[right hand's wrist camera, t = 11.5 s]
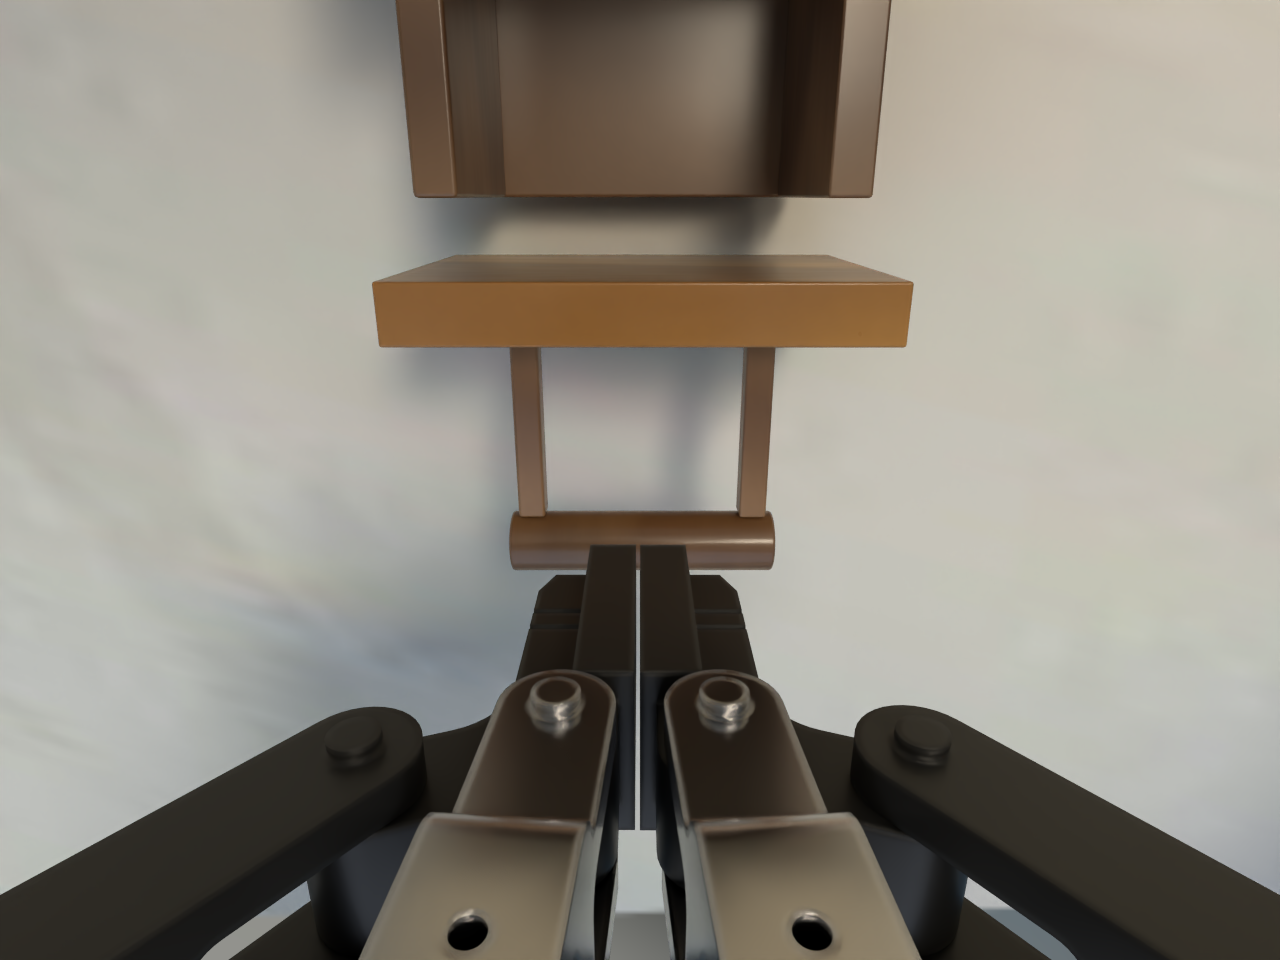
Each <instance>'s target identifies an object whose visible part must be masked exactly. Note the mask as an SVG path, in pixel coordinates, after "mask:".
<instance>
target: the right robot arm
mask: <svg viewBox="0 0 1280 960" xmlns="http://www.w3.org/2000/svg"><path fill="white" fill-rule="evenodd" d="M635 748H636V544H591V545H590V550H589V557H588V564H587V571H586V575H556V576H555V577H554V578H552V579H551V580H550V581H549V582H548V583H547V584H546V585H545V586H544V587H543V588H542V589H540V590H539V592H538V596H537V600H536V604H535V608H534V613H533V616H532V620H531V624H530V629H529V631H528V635H527V639H526V643H525V647H524V651H523V655H522V659H521V663H520V666H519V670H518V674H517V678H516V682H514V683H512V684H511V685H510V686H509V687H507V688H506V689H505V690H504V691H503V693H502V694H501V695H500V697H499V699H498V701H497V703H496V705H495V708H494V710H493V713H492V715H490V716H488V717H487V718H485V719H483V720H481V721H479V722H477V723H474V724H472V725H469V726H466V727H463V728H459V729H456V730H452V731H447V732H442V733H438V734H433V735H429V736H424V737H423V735H422V730H421V727H420V725H419V723H418V722H417V721H416V719H414V718H413V717H412V716H411V715H409V714H407V713H405V712H403V711H400V710H397V709H393V708H387V707H364V708H358V709H352V710H348V711H345V712H341V713H338V714H336V715H333V716H330V717H328V718H326V719H324V720H322V721H320V722H318V723H316V724H314V725H312V726H311V727H309V728H307V729H305V730H303V731H301V732H299V733H298V734H296V735H294V736H292V737H290V738H288V739H287V740H285V741H283V742H281V743H279V744H277V745H276V746H274V747H272V748H270V749H268V750H266V751H265V752H263V753H261V754H259V755H257V756H255V757H253V758H252V759H250V760H248V761H246V762H244V763H242V764H241V765H239V766H237V767H235V768H233V769H231V770H230V771H228V772H226V773H224V774H222V775H220V776H218V777H217V778H215V779H213V780H211V781H209V782H207V783H206V784H204V785H202V786H200V787H198V788H196V789H195V790H193V791H191V792H189V793H187V794H185V795H184V796H182V797H180V798H178V799H176V800H174V801H172V802H171V803H169V804H167V805H165V806H163V807H161V808H160V809H158V810H156V811H154V812H152V813H150V814H149V815H147V816H145V817H143V818H141V819H139V820H137V821H136V822H134V823H132V824H130V825H128V826H126V827H125V828H123V829H121V830H119V831H117V832H115V833H114V834H112V835H110V836H108V837H106V838H104V839H103V840H101V841H99V842H97V843H95V844H93V845H91V846H90V847H88V848H86V849H84V850H82V851H80V852H79V853H77V854H75V855H73V856H71V857H69V858H68V859H66V860H64V861H62V862H60V863H58V864H56V865H55V866H53V867H51V868H49V869H47V870H45V871H44V872H42V873H40V874H38V875H36V876H34V877H33V878H31V879H29V880H27V881H25V882H23V883H22V884H20V885H18V886H16V887H14V888H12V889H10V890H9V891H7V892H5V893H3V894H1V895H0V960H201V959H202V957H203V956H204V955H205V954H206V953H207V952H208V951H209V950H210V949H211V948H212V947H213V946H214V945H216V944H217V943H218V942H220V941H221V940H222V939H224V938H225V937H226V936H228V935H229V934H231V933H232V932H234V931H235V930H237V929H238V928H239V927H241V926H242V925H244V924H245V923H247V922H248V921H249V920H251V919H252V918H254V917H255V916H257V915H258V914H259V913H261V912H262V911H264V910H265V909H267V908H268V907H269V906H271V905H272V904H274V903H275V902H277V901H278V900H280V899H281V898H282V897H284V896H285V895H287V894H288V893H290V892H291V891H292V890H294V889H295V888H297V887H298V886H300V885H301V884H302V883H304V882H305V881H307V884H308V889H309V894H310V899H311V901H310V902H308V903H307V904H305V905H304V906H303V907H301V908H300V909H298V910H297V911H296V912H294V913H293V914H292V915H290V916H289V917H287V918H286V919H285V920H283V921H282V922H281V923H279V924H278V925H276V926H275V927H273V928H272V929H271V930H269V931H268V932H267V933H265V934H264V935H262V936H261V937H260V938H258V939H257V940H256V941H254V942H253V943H251V944H250V945H249V946H247V947H246V948H244V949H243V950H242V951H240V952H239V953H238V954H236V955H235V956H233V957H232V958H231V959H229V960H609V958H610V950H611V942H612V934H613V925H614V917H615V909H616V901H617V893H618V830H635ZM640 830H656V842H657V856H658V860H659V863H660V866H661V868H662V893H663V901H664V909H665V917H666V925H667V933H668V942H669V950H670V958H671V960H1051V959H1049V958H1048V957H1047V956H1045V955H1044V954H1043V953H1041V952H1040V951H1038V950H1037V949H1035V948H1034V947H1033V946H1031V945H1030V944H1029V943H1027V942H1026V941H1024V940H1023V939H1022V938H1020V937H1019V936H1018V935H1016V934H1015V933H1013V932H1012V931H1011V930H1009V929H1008V928H1006V927H1005V926H1004V925H1002V924H1001V923H1000V922H998V921H997V920H995V919H994V918H992V917H991V916H990V915H988V914H987V913H986V912H984V911H983V910H982V909H980V908H979V907H977V906H976V905H975V904H973V903H972V902H970V901H969V900H968V899H966V898H965V897H964V894H965V889H966V884H967V879H968V877H969V878H970V879H972V880H973V881H975V882H976V883H978V884H979V885H980V886H982V887H983V888H985V889H986V890H988V891H989V892H990V893H992V894H993V895H995V896H996V897H998V898H999V899H1000V900H1002V901H1003V902H1005V903H1006V904H1008V905H1009V906H1010V907H1012V908H1013V909H1015V910H1016V911H1018V912H1019V913H1021V914H1022V915H1023V916H1025V917H1026V918H1028V919H1029V920H1031V921H1032V922H1033V923H1035V924H1036V925H1038V926H1039V927H1041V928H1042V929H1043V930H1045V931H1046V932H1048V933H1049V934H1051V935H1052V936H1053V937H1055V938H1056V939H1057V940H1059V941H1060V942H1061V943H1062V944H1063V945H1064V946H1066V947H1067V948H1068V949H1069V950H1070V952H1071V953H1072V954H1073V955H1074V956H1075V957H1076V959H1077V960H1280V895H1279V894H1277V893H1275V892H1273V891H1271V890H1270V889H1268V888H1266V887H1264V886H1262V885H1260V884H1258V883H1257V882H1255V881H1253V880H1251V879H1249V878H1247V877H1246V876H1244V875H1242V874H1240V873H1238V872H1236V871H1235V870H1233V869H1231V868H1229V867H1227V866H1225V865H1223V864H1222V863H1220V862H1218V861H1216V860H1214V859H1212V858H1211V857H1209V856H1207V855H1205V854H1203V853H1201V852H1200V851H1198V850H1196V849H1194V848H1192V847H1190V846H1189V845H1187V844H1185V843H1183V842H1181V841H1179V840H1177V839H1176V838H1174V837H1172V836H1170V835H1168V834H1166V833H1165V832H1163V831H1161V830H1159V829H1157V828H1155V827H1154V826H1152V825H1150V824H1148V823H1146V822H1144V821H1142V820H1141V819H1139V818H1137V817H1135V816H1133V815H1131V814H1130V813H1128V812H1126V811H1124V810H1122V809H1120V808H1119V807H1117V806H1115V805H1113V804H1111V803H1109V802H1108V801H1106V800H1104V799H1102V798H1100V797H1098V796H1096V795H1095V794H1093V793H1091V792H1089V791H1087V790H1085V789H1084V788H1082V787H1080V786H1078V785H1076V784H1074V783H1073V782H1071V781H1069V780H1067V779H1065V778H1063V777H1061V776H1060V775H1058V774H1056V773H1054V772H1052V771H1050V770H1049V769H1047V768H1045V767H1043V766H1041V765H1039V764H1038V763H1036V762H1034V761H1032V760H1030V759H1028V758H1027V757H1025V756H1023V755H1021V754H1019V753H1017V752H1015V751H1014V750H1012V749H1010V748H1008V747H1006V746H1004V745H1003V744H1001V743H999V742H997V741H995V740H993V739H992V738H990V737H988V736H986V735H984V734H982V733H980V732H979V731H977V730H975V729H973V728H971V727H969V726H968V725H966V724H964V723H962V722H960V721H958V720H957V719H954V718H952V717H950V716H948V715H946V714H943V713H940V712H938V711H935V710H931V709H927V708H923V707H917V706H907V705H893V706H886V707H881V708H878V709H875V710H873V711H871V712H869V713H867V714H866V715H864V716H863V717H862V718H861V719H860V721H859V722H858V723H857V726H856V728H855V735H854V737H849V736H844V735H840V734H835V733H831V732H826V731H821V730H818V729H814V728H810V727H807V726H805V725H802V724H799V723H797V722H795V721H793V720H791V719H790V718H789V715H788V713H787V710H786V708H785V705H784V703H783V701H782V699H781V697H780V695H779V694H778V693H777V691H776V690H775V689H774V688H773V687H771V686H770V685H769V684H768V683H766V682H764V681H763V680H761V679H759V678H758V675H757V671H756V666H755V662H754V658H753V654H752V650H751V646H750V642H749V638H748V634H747V630H746V629H745V622H744V618H743V614H742V610H741V605H740V601H739V597H738V593H737V591H736V590H735V589H734V588H733V587H732V586H731V585H730V584H729V583H728V582H727V581H726V580H724V579H723V578H722V577H721V576H720V575H690V574H689V566H688V559H687V551H686V545H640Z"/></svg>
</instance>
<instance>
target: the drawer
mask: <svg viewBox="0 0 1280 960" xmlns="http://www.w3.org/2000/svg"><path fill="white" fill-rule="evenodd" d="M395 2H396V12H397V23H398V34H399V44H400V55H401V65H402V76H403V87H404V97H405V108H406V119H407V129H408V140H409V150H410V161H411V172H412V182H413V193H414V195H415V197H418V198H478V197H802V198H870V197H872V195H873V185H874V174H875V164H876V154H877V144H878V133H879V123H880V113H881V102H882V92H883V82H884V72H885V61H886V51H887V41H888V30H889V20H890V10H891V0H395ZM913 285H914V284H913V282H911V281H908V280H905V279H901V278H898V277H895V276H892V275H889V274H886V273H882V272H879V271H876V270H873V269H870V268H867V267H864V266H860V265H857V264H854V263H851V262H848V261H845V260H841V259H838V258H835V257H832V256H829V255H455V256H452V257H448V258H445V259H442V260H439V261H436V262H433V263H430V264H427V265H424V266H421V267H418V268H415V269H412V270H409V271H405V272H402V273H399V274H396V275H393V276H390V277H387V278H384V279H381V280H378V281H375V282H373V283H372V288H373V296H374V305H375V314H376V322H377V331H378V340H379V346H380V347H510V363H511V381H512V398H513V415H514V432H515V450H516V467H517V484H518V501H519V511H515V512H514V513H513V515H512V518H511V524H510V535H509V550H510V560H511V565H512V567H513V569H514V570H587V564H588V557H589V550H590V545H591V544H636V570H640V545H686V551H687V559H688V566H689V570H770V569H771V568H772V566H773V562H774V556H775V529H774V521H773V517H772V514H771V512H769V511H766V495H767V478H768V462H769V445H770V429H771V412H772V396H773V379H774V363H775V347H906V344H907V336H908V327H909V319H910V310H911V302H912V293H913ZM541 347H744V353H743V375H742V396H741V418H740V440H739V461H738V483H737V504H736V507H737V510H738V511H547V507H548V500H547V477H546V455H545V432H544V409H543V387H542V364H541Z"/></svg>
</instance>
